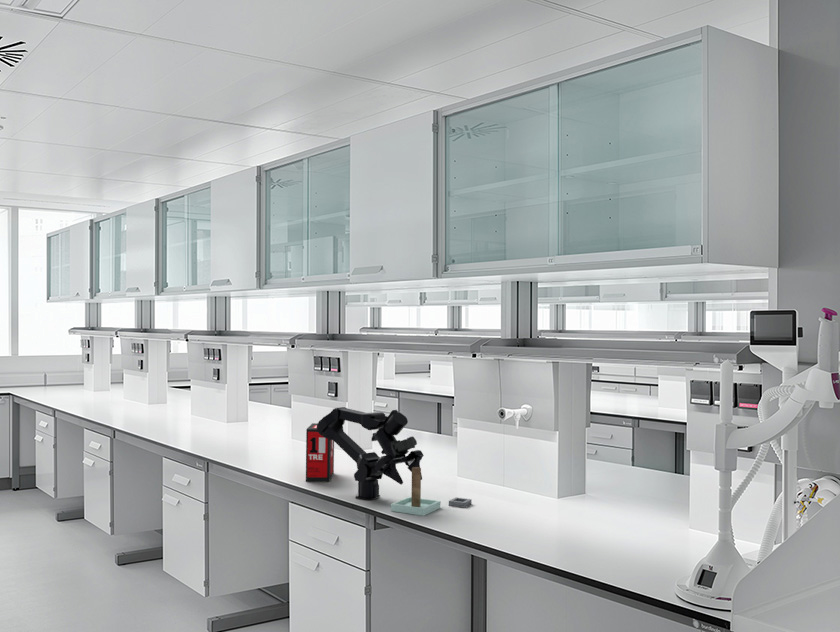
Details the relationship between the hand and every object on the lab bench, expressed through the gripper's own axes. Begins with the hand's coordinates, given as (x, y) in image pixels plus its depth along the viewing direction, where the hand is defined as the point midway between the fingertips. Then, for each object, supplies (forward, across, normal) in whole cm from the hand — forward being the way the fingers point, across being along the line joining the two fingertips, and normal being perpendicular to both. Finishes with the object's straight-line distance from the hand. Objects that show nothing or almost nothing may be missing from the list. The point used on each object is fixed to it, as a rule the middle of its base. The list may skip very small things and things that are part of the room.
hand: (411, 481), depth 254 cm
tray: (+8, 0, +5) cm, 9 cm away
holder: (+12, +15, 0) cm, 19 cm away
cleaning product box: (-34, +11, +49) cm, 60 cm away
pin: (+7, 0, +4) cm, 8 cm away
